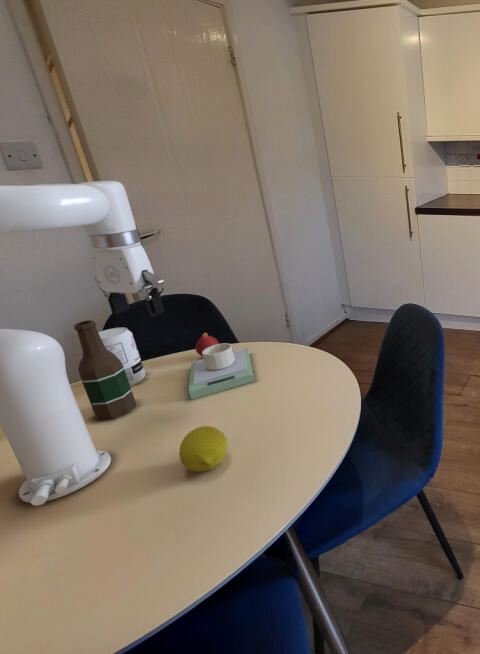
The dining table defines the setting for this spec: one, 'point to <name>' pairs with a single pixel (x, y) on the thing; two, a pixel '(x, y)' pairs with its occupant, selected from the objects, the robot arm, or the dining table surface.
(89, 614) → the dining table surface
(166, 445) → the dining table surface
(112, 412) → the beer bottle
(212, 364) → the bowl
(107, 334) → the supplement can
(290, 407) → the dining table surface
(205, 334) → the onion
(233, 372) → the scale
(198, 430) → the lemon
